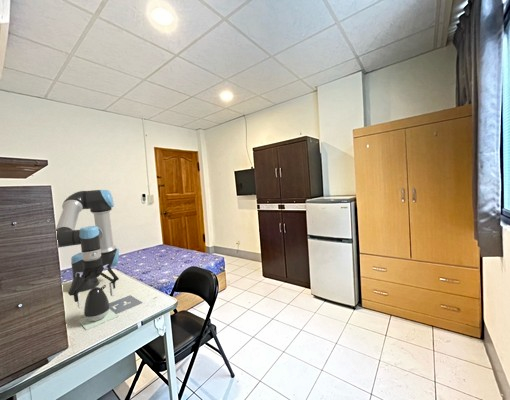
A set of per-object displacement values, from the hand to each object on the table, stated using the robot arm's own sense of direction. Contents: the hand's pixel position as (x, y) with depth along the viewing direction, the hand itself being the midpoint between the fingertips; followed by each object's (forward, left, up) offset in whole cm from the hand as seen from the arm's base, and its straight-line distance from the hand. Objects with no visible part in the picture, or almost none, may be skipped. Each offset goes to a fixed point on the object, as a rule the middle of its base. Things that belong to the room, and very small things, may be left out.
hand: (96, 301), depth 111 cm
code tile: (-5, +12, -9) cm, 15 cm away
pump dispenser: (0, 0, -9) cm, 8 cm away
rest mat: (0, 0, -9) cm, 9 cm away
